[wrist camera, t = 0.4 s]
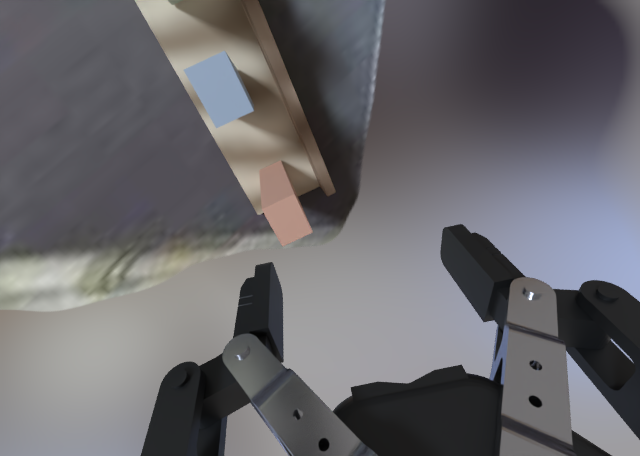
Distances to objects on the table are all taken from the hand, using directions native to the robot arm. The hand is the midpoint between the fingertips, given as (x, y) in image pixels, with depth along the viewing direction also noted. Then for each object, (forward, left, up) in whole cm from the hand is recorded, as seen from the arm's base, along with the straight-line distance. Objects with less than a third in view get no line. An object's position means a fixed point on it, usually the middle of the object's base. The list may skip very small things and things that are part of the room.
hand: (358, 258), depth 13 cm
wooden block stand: (-9, -3, -27) cm, 29 cm away
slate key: (-9, -3, -26) cm, 28 cm away
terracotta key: (+2, -3, -26) cm, 26 cm away
